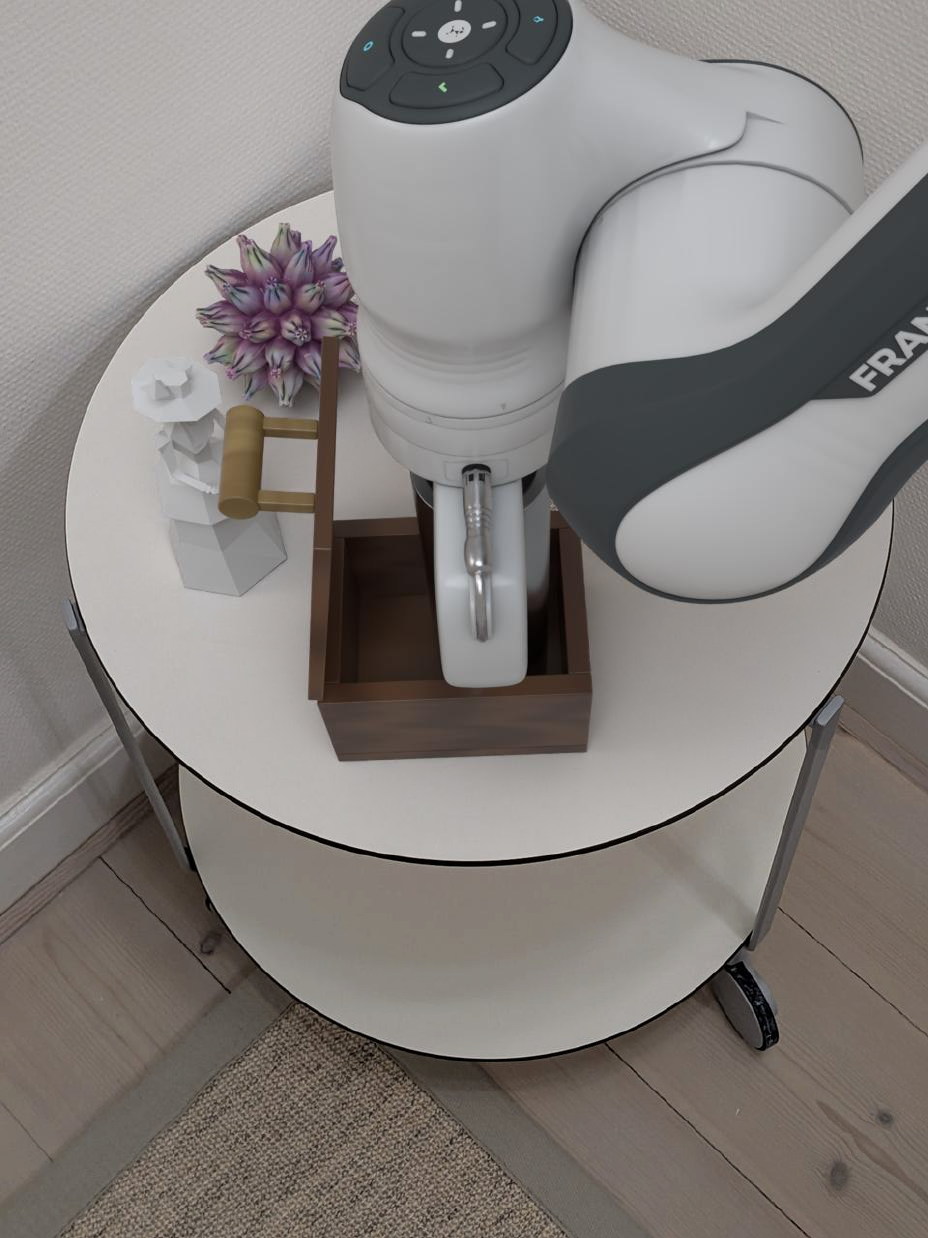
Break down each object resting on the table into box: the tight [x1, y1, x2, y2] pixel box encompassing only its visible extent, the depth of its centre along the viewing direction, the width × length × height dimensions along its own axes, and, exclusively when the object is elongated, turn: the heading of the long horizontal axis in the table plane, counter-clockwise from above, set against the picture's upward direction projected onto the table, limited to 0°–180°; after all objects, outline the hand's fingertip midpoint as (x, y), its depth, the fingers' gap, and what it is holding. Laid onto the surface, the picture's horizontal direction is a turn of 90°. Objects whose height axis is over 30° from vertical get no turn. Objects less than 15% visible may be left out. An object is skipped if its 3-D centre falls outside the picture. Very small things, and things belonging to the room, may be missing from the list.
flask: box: [409, 463, 552, 679], centre depth 64 cm, size 6×6×20 cm
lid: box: [218, 336, 340, 701], centre depth 60 cm, size 15×11×5 cm
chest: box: [316, 509, 593, 762], centre depth 71 cm, size 14×11×8 cm
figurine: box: [130, 355, 288, 598], centre depth 71 cm, size 7×8×18 cm
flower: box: [194, 222, 362, 409], centre depth 81 cm, size 12×12×12 cm
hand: (482, 551), depth 63 cm, fingers open, 8 cm apart
